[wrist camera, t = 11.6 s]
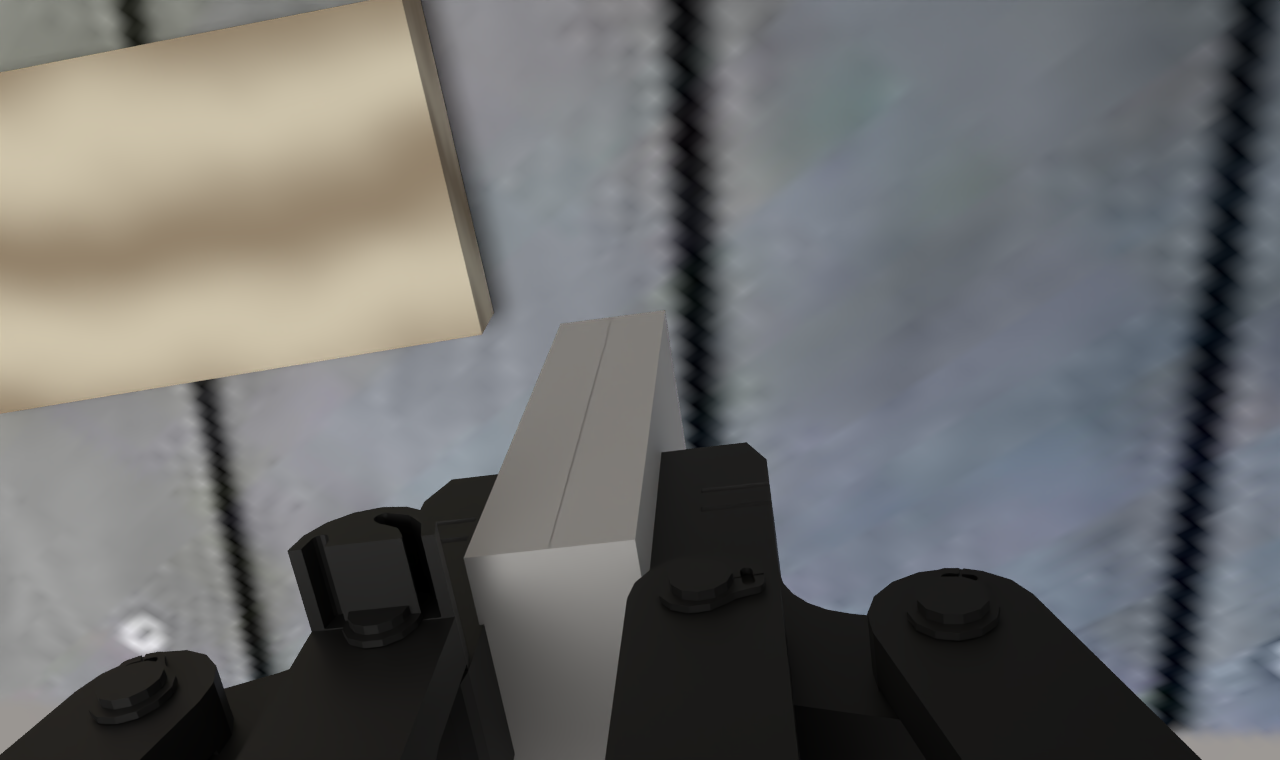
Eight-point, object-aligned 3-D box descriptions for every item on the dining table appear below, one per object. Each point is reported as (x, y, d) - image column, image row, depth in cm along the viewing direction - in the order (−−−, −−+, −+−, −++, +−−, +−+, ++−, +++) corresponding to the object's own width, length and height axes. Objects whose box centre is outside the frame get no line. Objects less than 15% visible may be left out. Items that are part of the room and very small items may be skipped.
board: (-406, 154, 38) (-477, 165, 36) (418, -7, 36) (400, -6, 33) (-264, 439, 42) (-321, 466, 40) (493, 313, 39) (482, 334, 37)
